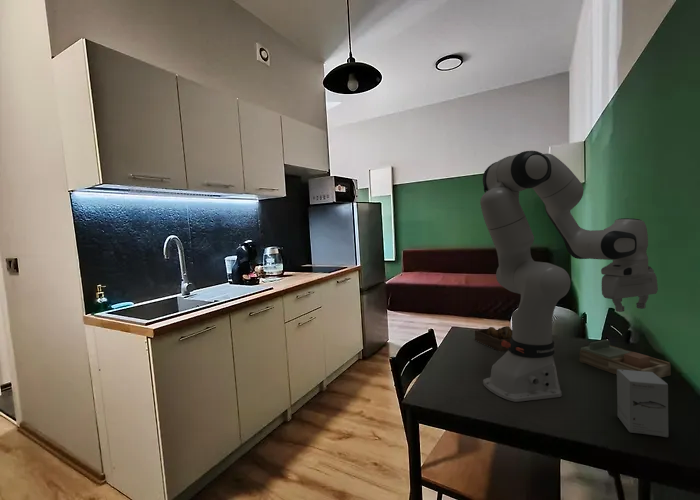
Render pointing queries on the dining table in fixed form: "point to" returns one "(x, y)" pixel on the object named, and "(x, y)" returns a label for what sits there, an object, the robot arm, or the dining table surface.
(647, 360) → the cube
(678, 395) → the dining table surface
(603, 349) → the cover
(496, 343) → the lion stand
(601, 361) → the wooden box
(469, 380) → the dining table surface
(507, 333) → the lion figurine
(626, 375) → the supplement box
